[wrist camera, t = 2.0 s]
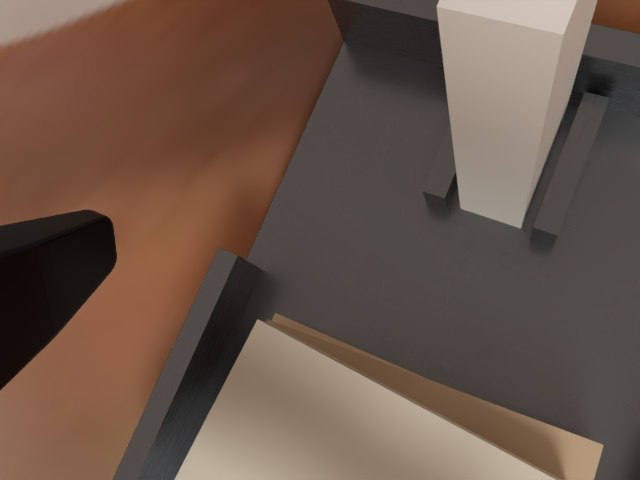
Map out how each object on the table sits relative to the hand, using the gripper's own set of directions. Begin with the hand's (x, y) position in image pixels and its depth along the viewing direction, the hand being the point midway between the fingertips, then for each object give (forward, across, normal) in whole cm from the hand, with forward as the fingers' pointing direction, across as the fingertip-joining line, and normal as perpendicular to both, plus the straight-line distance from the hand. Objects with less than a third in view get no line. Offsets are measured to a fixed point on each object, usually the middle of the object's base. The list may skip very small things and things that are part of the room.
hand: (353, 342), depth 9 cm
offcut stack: (+7, 0, +12) cm, 14 cm away
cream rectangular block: (+15, 0, +3) cm, 15 cm away
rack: (+11, 0, +8) cm, 14 cm away
